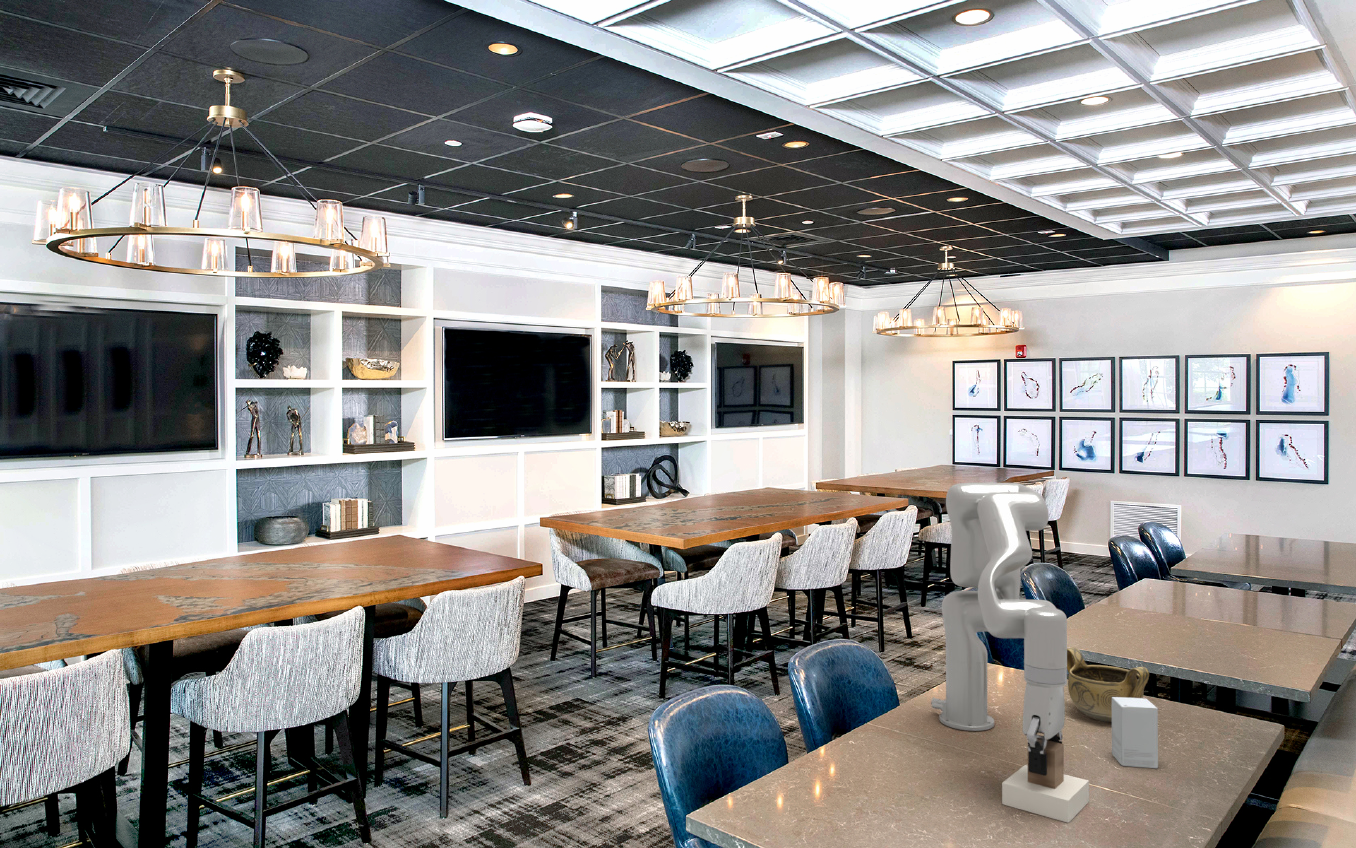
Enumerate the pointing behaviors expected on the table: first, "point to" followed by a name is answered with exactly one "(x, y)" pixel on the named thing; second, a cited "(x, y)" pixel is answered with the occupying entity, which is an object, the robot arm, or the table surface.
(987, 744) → the table surface
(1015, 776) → the base
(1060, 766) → the walnut block
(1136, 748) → the supplement box
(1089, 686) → the ceramic bowl
